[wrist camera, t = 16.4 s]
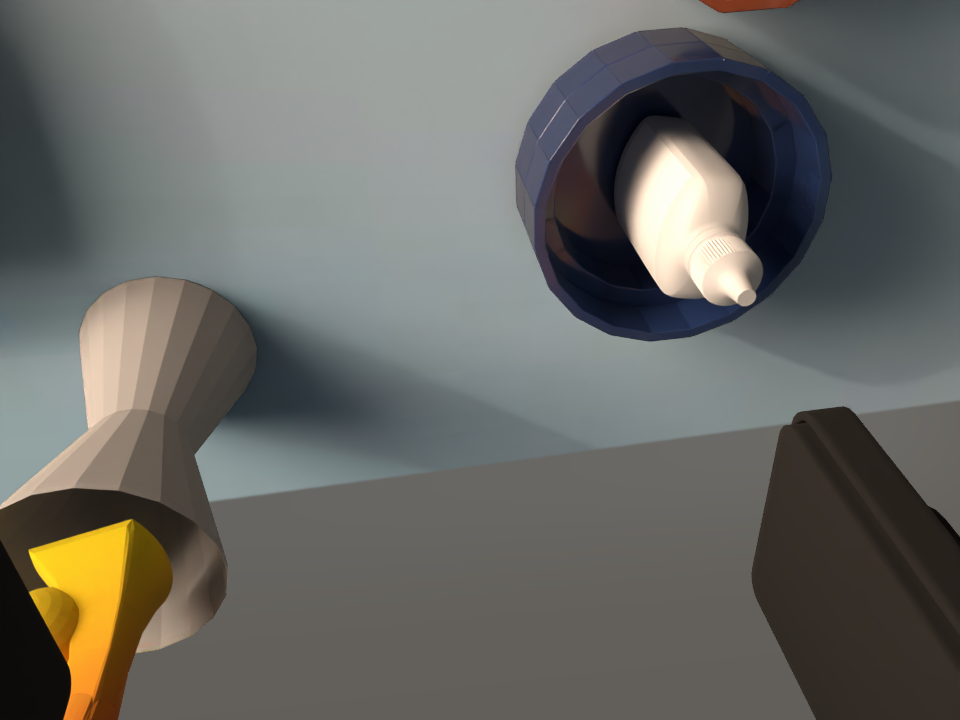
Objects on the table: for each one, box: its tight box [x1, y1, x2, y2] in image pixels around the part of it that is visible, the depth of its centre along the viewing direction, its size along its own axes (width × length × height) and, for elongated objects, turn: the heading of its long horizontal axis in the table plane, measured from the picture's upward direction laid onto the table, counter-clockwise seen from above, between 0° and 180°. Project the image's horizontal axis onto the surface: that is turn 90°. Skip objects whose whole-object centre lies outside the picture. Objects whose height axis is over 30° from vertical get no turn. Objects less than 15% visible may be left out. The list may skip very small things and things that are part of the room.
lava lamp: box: [0, 277, 257, 720], centre depth 29 cm, size 9×9×35 cm
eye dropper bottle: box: [614, 115, 763, 306], centre depth 36 cm, size 4×6×12 cm
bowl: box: [515, 27, 832, 341], centre depth 39 cm, size 13×13×6 cm
